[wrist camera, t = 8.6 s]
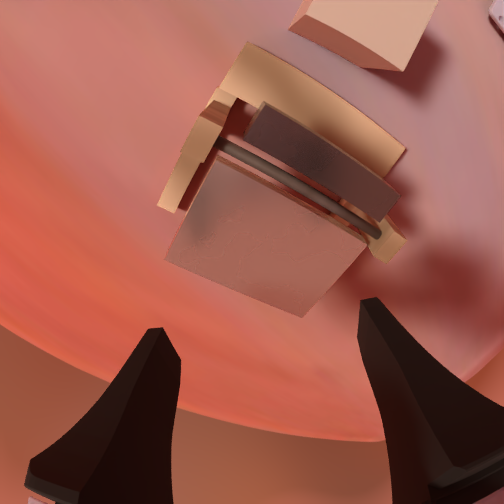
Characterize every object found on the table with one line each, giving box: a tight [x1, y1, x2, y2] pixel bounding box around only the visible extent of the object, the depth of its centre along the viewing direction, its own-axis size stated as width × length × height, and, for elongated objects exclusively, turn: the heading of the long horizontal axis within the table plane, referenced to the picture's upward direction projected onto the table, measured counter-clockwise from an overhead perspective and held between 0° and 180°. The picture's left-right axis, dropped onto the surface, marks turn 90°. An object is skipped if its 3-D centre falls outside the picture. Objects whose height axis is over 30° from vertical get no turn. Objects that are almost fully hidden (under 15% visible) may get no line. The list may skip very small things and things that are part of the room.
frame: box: [157, 42, 407, 264], centre depth 15 cm, size 11×11×6 cm
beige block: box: [288, 0, 439, 72], centre depth 11 cm, size 5×5×6 cm
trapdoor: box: [164, 101, 401, 318], centre depth 14 cm, size 8×8×1 cm
